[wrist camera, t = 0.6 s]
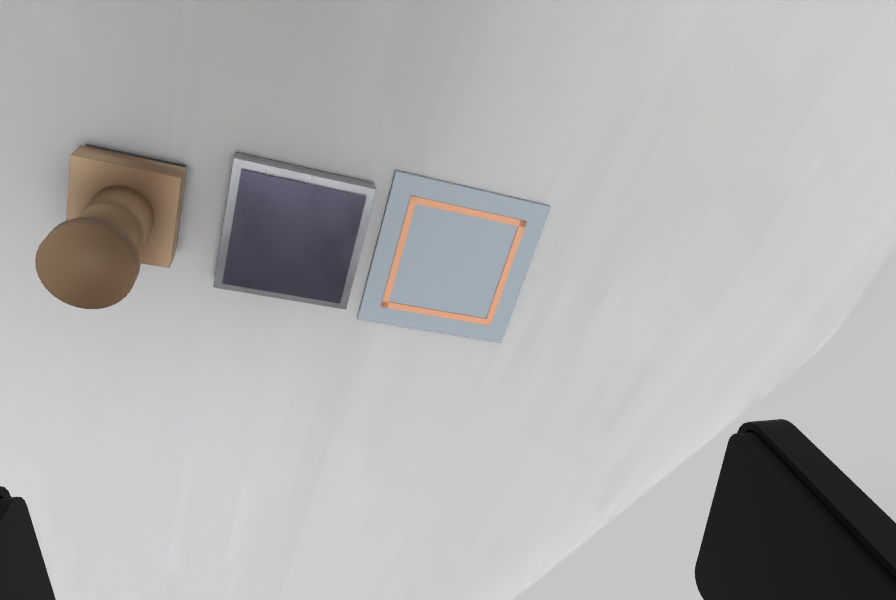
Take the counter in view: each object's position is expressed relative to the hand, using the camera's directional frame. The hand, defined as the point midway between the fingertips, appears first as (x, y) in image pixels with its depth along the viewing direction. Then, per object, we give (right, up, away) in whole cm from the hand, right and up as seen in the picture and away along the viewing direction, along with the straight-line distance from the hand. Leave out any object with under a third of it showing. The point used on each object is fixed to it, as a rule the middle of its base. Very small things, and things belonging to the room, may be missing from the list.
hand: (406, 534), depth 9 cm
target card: (+1, +5, +32) cm, 33 cm away
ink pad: (-8, +7, +30) cm, 31 cm away
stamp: (-16, +9, +27) cm, 33 cm away
